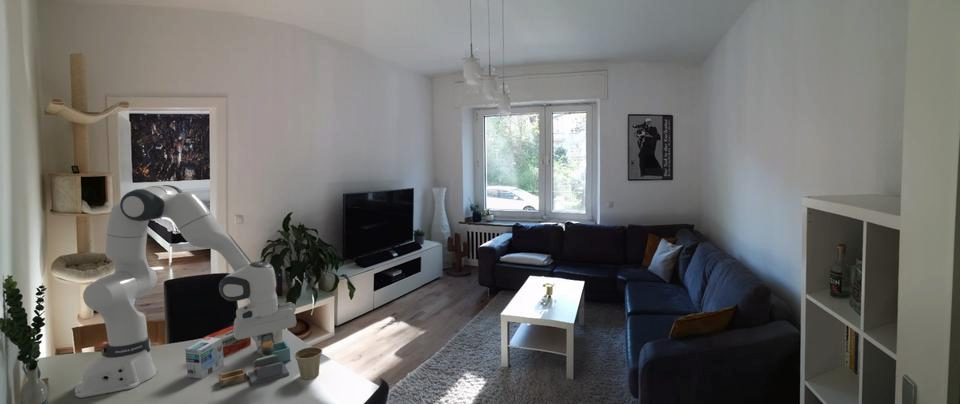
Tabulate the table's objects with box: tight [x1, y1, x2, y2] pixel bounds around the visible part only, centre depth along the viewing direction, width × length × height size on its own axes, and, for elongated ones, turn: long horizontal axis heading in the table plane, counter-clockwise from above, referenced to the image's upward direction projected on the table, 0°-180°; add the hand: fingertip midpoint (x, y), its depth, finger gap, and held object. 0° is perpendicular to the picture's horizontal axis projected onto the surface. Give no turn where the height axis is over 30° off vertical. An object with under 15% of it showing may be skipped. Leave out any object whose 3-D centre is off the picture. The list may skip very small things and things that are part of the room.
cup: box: [262, 340, 291, 364], centre depth 175 cm, size 8×8×5 cm
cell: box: [260, 332, 274, 356], centre depth 162 cm, size 4×4×8 cm
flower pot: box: [293, 346, 323, 380], centre depth 162 cm, size 9×9×9 cm
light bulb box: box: [184, 337, 225, 379], centre depth 166 cm, size 11×7×11 cm, turn 169°
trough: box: [218, 367, 248, 388], centre depth 159 cm, size 8×5×2 cm, turn 125°
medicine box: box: [202, 324, 252, 358], centre depth 183 cm, size 15×8×8 cm, turn 155°
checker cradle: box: [247, 355, 290, 386], centre depth 163 cm, size 12×9×5 cm
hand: (267, 344), depth 162 cm, fingers closed on cell, 4 cm apart
